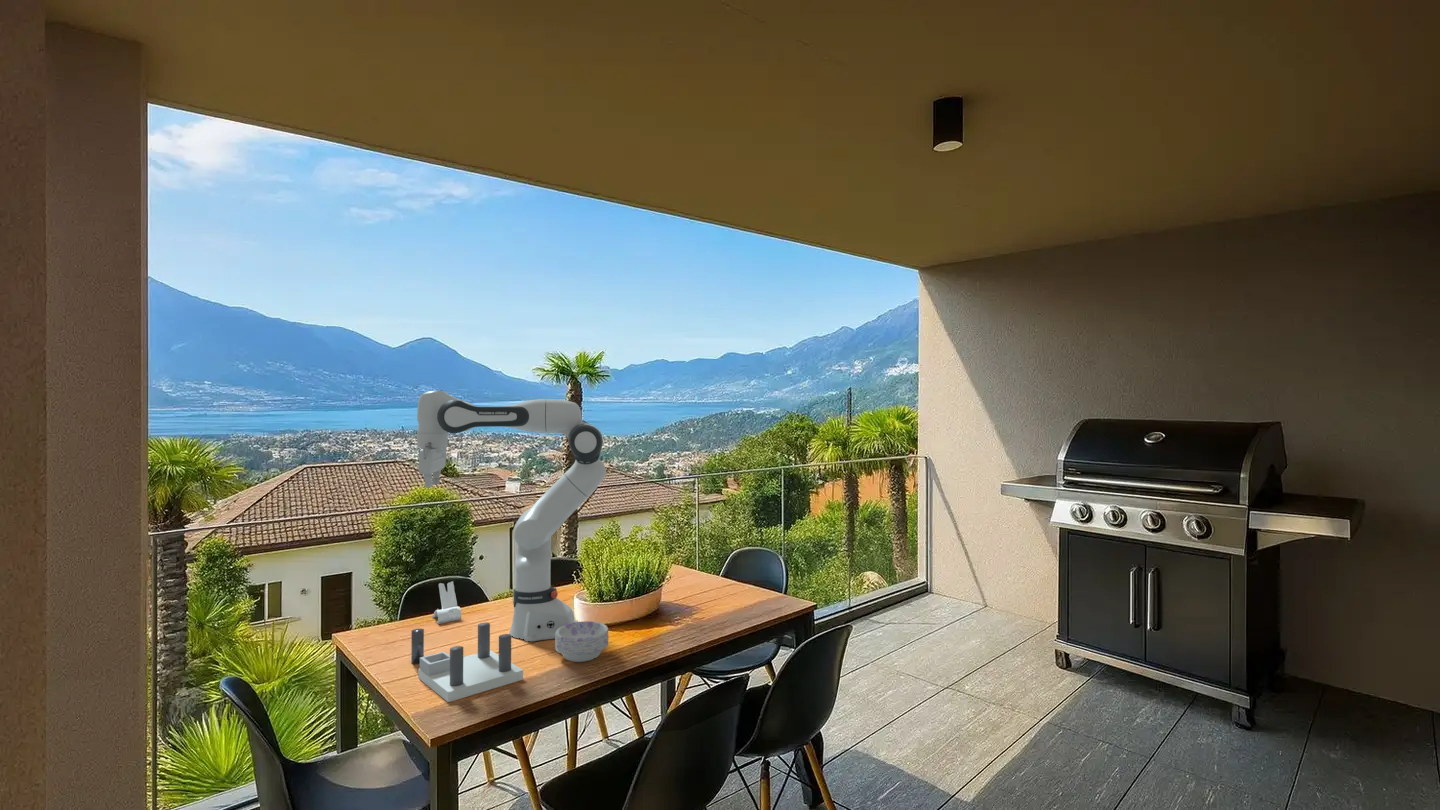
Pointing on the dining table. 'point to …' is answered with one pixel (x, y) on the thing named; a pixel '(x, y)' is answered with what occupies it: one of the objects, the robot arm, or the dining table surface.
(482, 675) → the stool seat
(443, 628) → the dining table surface
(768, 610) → the dining table surface
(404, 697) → the dining table surface
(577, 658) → the paper bowls
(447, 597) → the plastic part
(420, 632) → the stool leg
